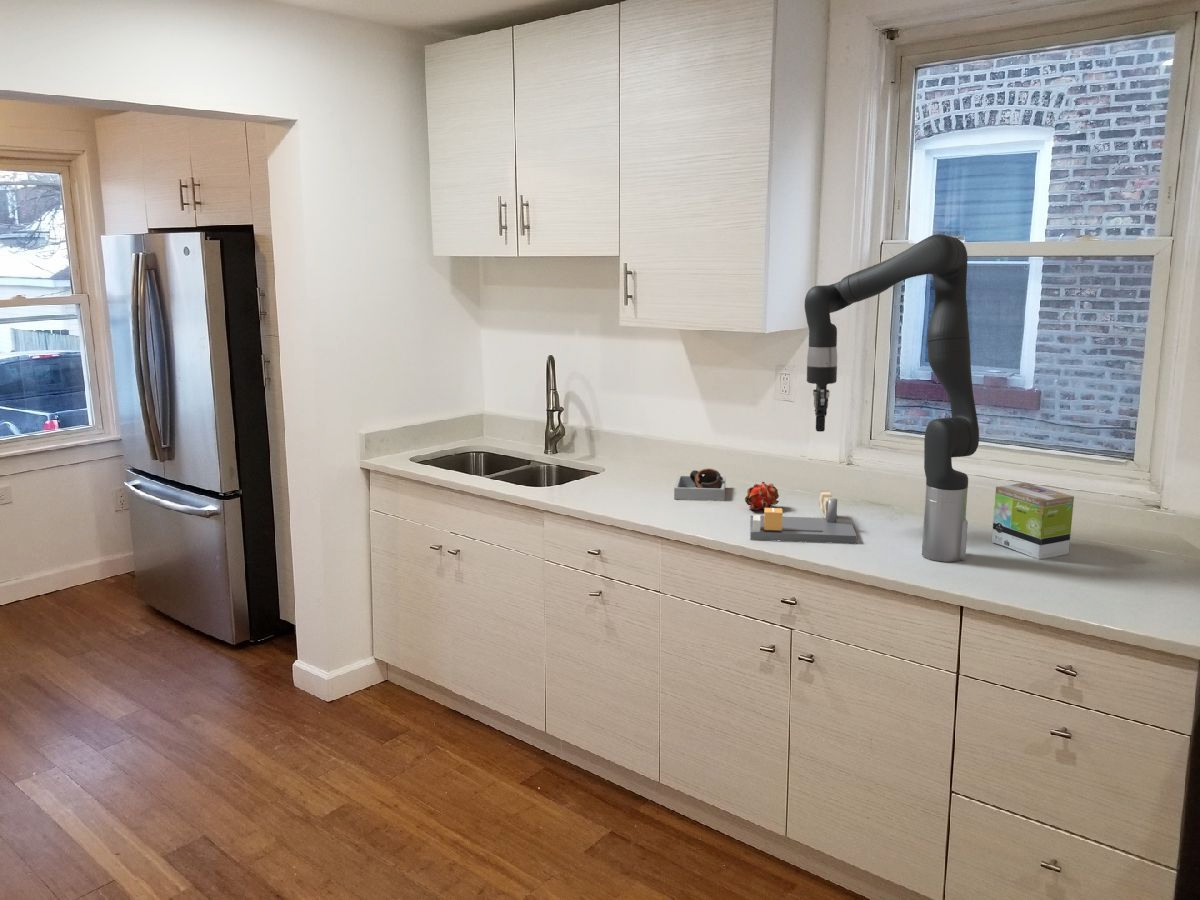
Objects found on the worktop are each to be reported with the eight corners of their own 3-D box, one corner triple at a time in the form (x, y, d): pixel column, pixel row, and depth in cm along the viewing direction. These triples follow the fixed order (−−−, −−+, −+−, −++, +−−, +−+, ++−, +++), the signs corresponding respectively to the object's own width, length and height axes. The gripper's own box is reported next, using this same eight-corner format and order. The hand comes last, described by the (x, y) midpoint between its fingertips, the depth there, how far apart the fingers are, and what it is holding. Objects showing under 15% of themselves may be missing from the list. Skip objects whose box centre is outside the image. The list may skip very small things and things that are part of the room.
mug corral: (725, 487, 294) (725, 476, 293) (723, 500, 278) (724, 489, 277) (678, 486, 296) (678, 475, 295) (674, 499, 280) (674, 488, 279)
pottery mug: (730, 492, 291) (729, 472, 285) (712, 510, 286) (710, 490, 280) (698, 477, 297) (697, 457, 292) (680, 494, 292) (678, 475, 287)
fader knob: (781, 525, 243) (781, 507, 242) (781, 530, 238) (782, 512, 237) (764, 525, 243) (764, 507, 242) (764, 529, 239) (764, 511, 238)
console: (849, 526, 251) (850, 496, 249) (856, 543, 235) (857, 512, 234) (750, 522, 255) (751, 493, 253) (750, 539, 239) (751, 509, 238)
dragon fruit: (779, 511, 271) (749, 524, 265) (761, 490, 276) (731, 502, 269) (791, 492, 265) (760, 505, 259) (771, 471, 270) (741, 483, 263)
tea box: (989, 543, 235) (994, 485, 232) (1020, 538, 239) (1024, 481, 236) (1039, 560, 221) (1044, 499, 218) (1070, 555, 225) (1076, 494, 222)
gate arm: (835, 517, 249) (835, 501, 249) (825, 517, 250) (826, 501, 249) (828, 506, 261) (828, 490, 260) (819, 506, 261) (819, 490, 260)
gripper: (839, 366, 236) (837, 435, 239) (835, 362, 248) (832, 427, 251) (808, 366, 237) (806, 435, 240) (805, 362, 250) (804, 426, 253)
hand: (820, 430), depth 246 cm, fingers closed
